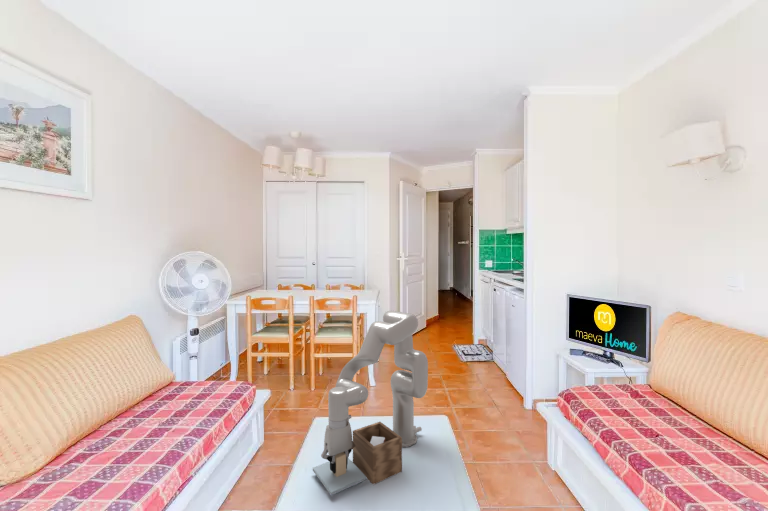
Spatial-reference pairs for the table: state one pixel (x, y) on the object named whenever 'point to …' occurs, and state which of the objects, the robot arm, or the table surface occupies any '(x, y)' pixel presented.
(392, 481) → the table surface
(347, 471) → the lid
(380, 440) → the small box
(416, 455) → the table surface
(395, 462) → the crate
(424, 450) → the table surface
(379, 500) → the table surface
